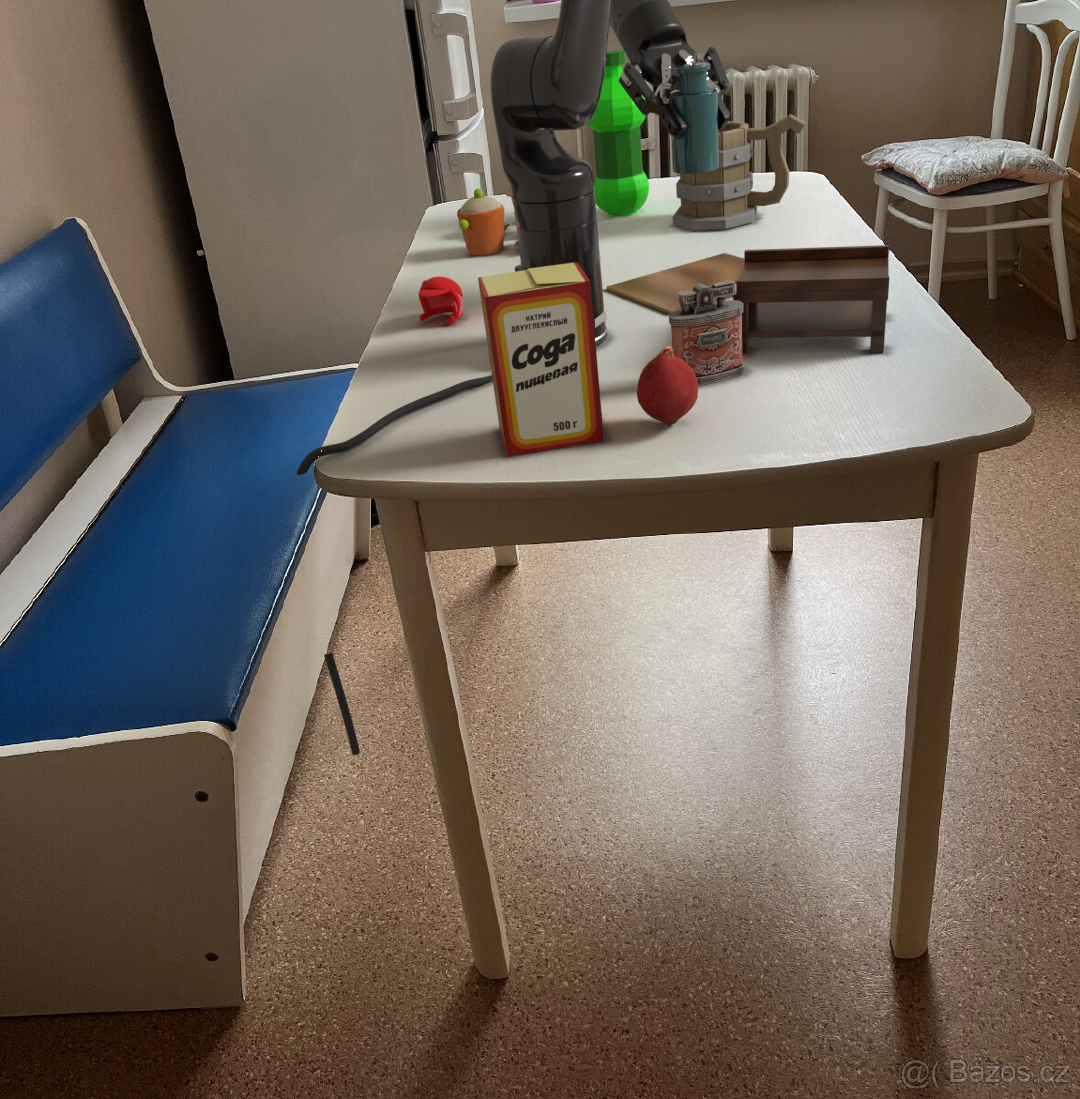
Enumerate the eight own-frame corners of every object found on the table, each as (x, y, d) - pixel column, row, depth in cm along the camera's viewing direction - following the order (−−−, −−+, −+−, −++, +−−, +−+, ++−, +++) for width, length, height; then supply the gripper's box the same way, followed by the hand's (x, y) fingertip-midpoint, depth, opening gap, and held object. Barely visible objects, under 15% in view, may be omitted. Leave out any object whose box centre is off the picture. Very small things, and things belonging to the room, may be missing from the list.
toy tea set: (561, 252, 159) (555, 187, 154) (461, 264, 159) (452, 200, 154) (553, 213, 181) (547, 155, 176) (466, 223, 182) (458, 166, 177)
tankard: (668, 232, 162) (664, 131, 154) (683, 211, 172) (679, 115, 164) (799, 228, 156) (801, 122, 148) (806, 207, 166) (808, 107, 158)
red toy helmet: (425, 313, 140) (417, 269, 137) (468, 309, 139) (461, 265, 136) (416, 333, 133) (407, 287, 130) (461, 329, 133) (454, 283, 129)
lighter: (679, 390, 108) (675, 297, 103) (666, 379, 110) (662, 288, 105) (749, 374, 109) (749, 281, 104) (735, 364, 112) (734, 273, 107)
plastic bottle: (586, 211, 180) (572, 54, 167) (644, 202, 181) (635, 45, 168) (599, 224, 171) (585, 59, 158) (660, 214, 172) (652, 49, 159)
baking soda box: (507, 456, 99) (484, 293, 90) (499, 429, 104) (477, 273, 96) (604, 440, 99) (589, 276, 91) (591, 414, 105) (577, 258, 97)
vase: (715, 172, 127) (713, 66, 121) (669, 175, 129) (664, 70, 123) (721, 162, 132) (719, 59, 126) (676, 165, 133) (672, 63, 127)
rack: (733, 354, 115) (732, 281, 111) (745, 317, 124) (744, 249, 120) (884, 353, 110) (889, 277, 106) (884, 315, 120) (889, 244, 116)
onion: (651, 442, 98) (646, 362, 94) (631, 420, 103) (625, 343, 99) (708, 429, 99) (706, 350, 95) (685, 408, 104) (682, 331, 100)
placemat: (670, 315, 128) (670, 311, 128) (606, 289, 140) (606, 286, 140) (795, 277, 136) (795, 273, 135) (724, 256, 147) (724, 252, 147)
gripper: (604, 5, 123) (666, 119, 120) (701, -11, 129) (763, 97, 126) (585, 52, 130) (643, 161, 127) (678, 35, 136) (736, 139, 132)
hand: (703, 129), depth 126 cm, fingers closed on vase, 6 cm apart
